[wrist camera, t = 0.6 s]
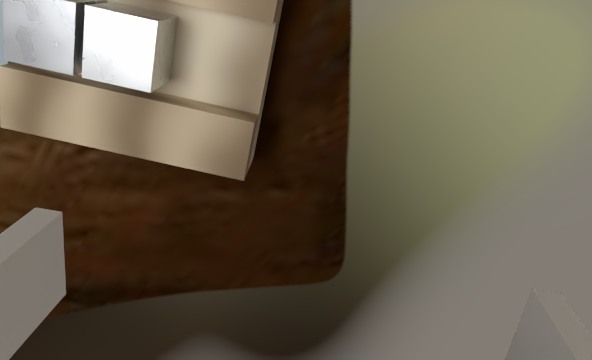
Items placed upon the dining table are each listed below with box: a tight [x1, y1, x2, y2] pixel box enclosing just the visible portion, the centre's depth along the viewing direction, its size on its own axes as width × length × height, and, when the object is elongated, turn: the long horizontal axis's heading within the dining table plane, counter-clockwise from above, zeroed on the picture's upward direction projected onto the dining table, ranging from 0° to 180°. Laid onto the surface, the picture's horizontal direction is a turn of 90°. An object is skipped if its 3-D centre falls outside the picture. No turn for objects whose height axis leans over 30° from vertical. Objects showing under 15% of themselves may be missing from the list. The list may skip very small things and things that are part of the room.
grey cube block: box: [3, 0, 106, 75], centre depth 30 cm, size 4×4×4 cm
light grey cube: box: [82, 2, 178, 93], centre depth 30 cm, size 4×4×4 cm
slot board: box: [0, 0, 284, 181], centre depth 32 cm, size 16×14×4 cm
